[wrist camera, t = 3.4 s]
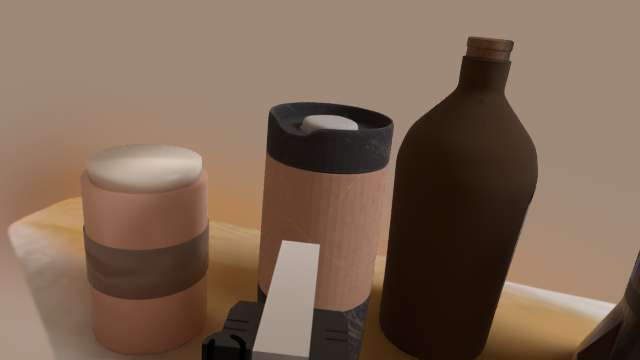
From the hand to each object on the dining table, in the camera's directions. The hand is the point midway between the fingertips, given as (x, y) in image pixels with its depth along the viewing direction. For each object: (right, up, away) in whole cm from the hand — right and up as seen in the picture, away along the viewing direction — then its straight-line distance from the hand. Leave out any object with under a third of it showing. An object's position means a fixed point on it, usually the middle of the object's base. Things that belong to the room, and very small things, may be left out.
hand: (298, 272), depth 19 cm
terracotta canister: (-13, -8, +21) cm, 26 cm away
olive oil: (+11, -10, +23) cm, 27 cm away
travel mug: (0, -11, +16) cm, 19 cm away
